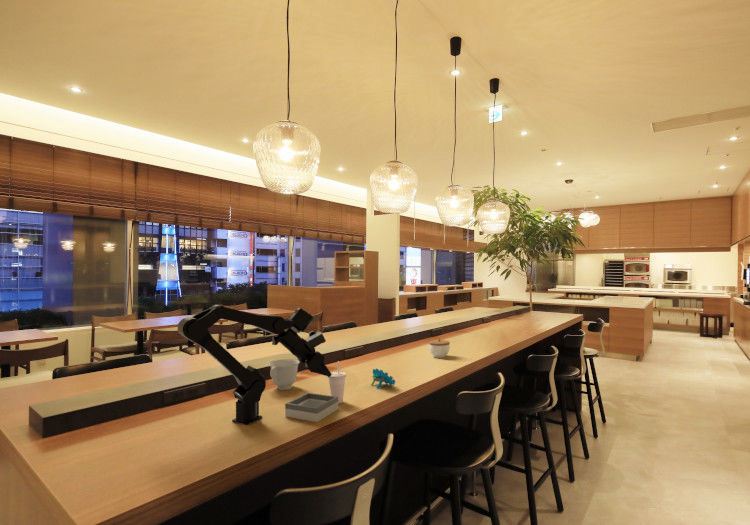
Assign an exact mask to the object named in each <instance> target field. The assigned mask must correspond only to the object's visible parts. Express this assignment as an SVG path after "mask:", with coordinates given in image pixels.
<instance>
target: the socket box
mask: <svg viewBox="0 0 750 525" xmlns="http://www.w3.org/2000/svg"><path fill="white" fill-rule="evenodd" d="M284 406H285V407H284V408H285V410H284V411H285V415H284V416H285V418H292V419H297V420H298V419H299V420H303V421H307V422H308V421H309V422H314V423H318V422H320V421H322V420H323V419H325V418H326V417H328V416H330V415H331V414H333V413H335V412H336V411H338V410H339V404H338V397H335V396H331V395H327V394H319V393H313V392H307V393H304V394H302V395H300V396H299V397H296V398H294V399H292V400H289V401H287V402H285V403H284Z"/></svg>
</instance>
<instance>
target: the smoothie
mask: <svg viewBox="0 0 750 525" xmlns="http://www.w3.org/2000/svg"><path fill="white" fill-rule="evenodd" d="M330 372H331V371H330ZM331 374H332V375H331V376H330V377H328V376H327V379H328V383H329V390H330V396H335V397H338V405H340V404H343V402H344V393H345V392H344V391H345V386H346V385H345V384H346V378H347V373H346V372H344V371H340V361H339V360H338V361H337V371H332V372H331ZM339 403H340V404H339Z"/></svg>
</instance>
